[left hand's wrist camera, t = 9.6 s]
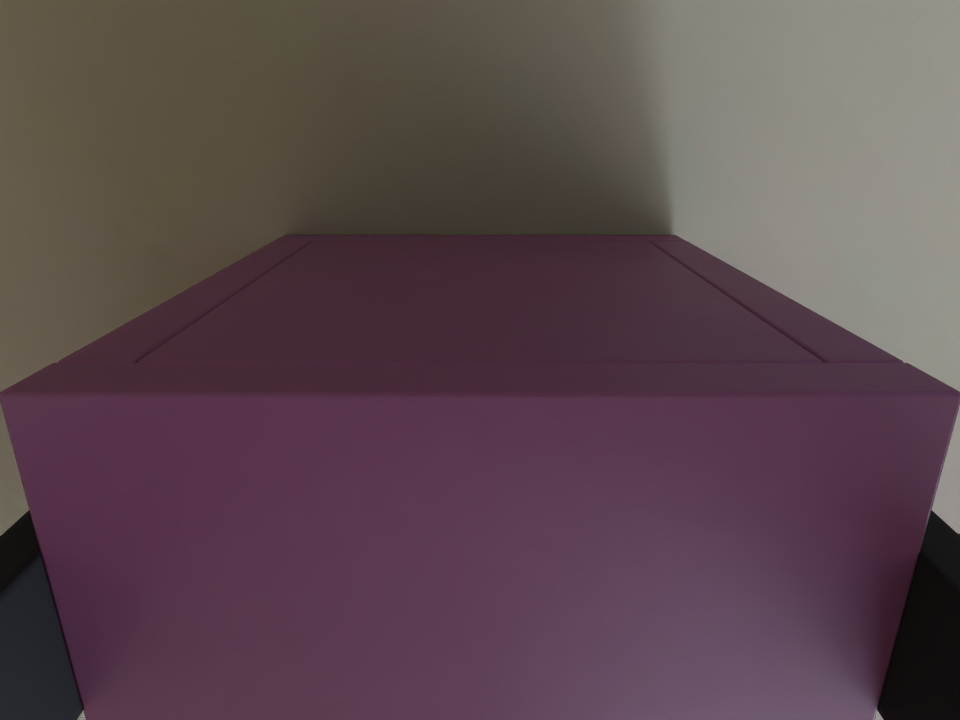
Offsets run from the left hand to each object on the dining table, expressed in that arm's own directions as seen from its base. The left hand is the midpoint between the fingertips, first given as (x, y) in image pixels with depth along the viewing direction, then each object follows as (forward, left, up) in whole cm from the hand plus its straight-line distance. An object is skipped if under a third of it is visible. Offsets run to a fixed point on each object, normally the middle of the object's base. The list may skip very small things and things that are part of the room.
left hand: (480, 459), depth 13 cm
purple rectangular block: (+6, -4, -7) cm, 10 cm away
